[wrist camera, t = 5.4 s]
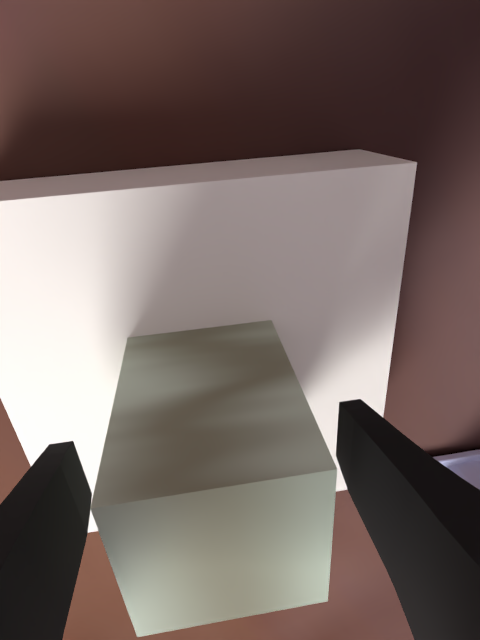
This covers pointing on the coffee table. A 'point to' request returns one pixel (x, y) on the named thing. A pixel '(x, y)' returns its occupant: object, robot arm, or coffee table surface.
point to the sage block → (213, 480)
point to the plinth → (198, 280)
